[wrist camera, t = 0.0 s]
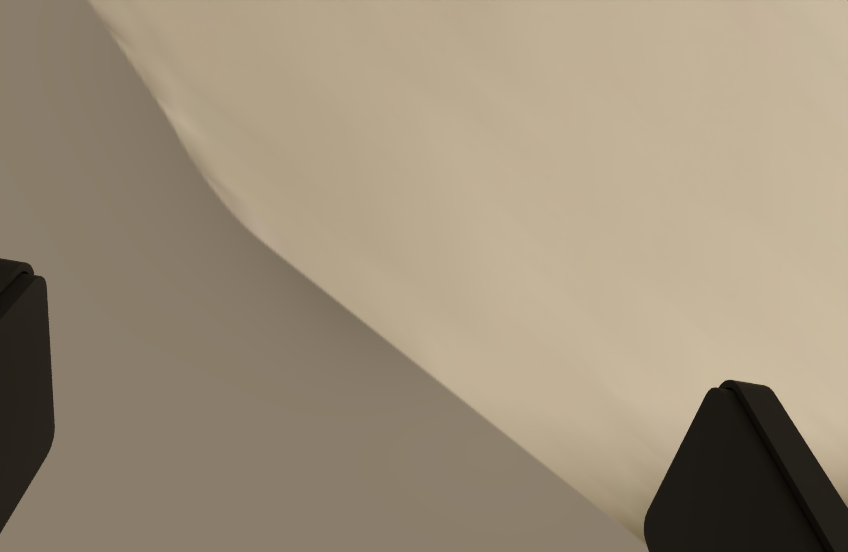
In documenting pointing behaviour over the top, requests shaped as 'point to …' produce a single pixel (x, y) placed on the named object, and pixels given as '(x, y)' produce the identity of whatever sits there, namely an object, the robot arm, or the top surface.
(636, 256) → the top surface
